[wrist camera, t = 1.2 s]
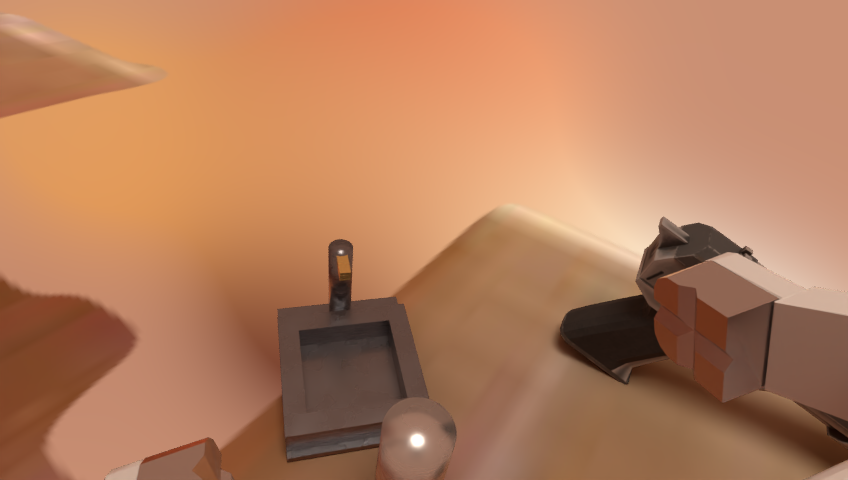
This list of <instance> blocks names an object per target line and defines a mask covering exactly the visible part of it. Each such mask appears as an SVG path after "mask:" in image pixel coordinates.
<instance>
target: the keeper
mask: <svg viewBox="0 0 848 480" xmlns="http://www.w3.org/2000/svg"><path fill="white" fill-rule="evenodd" d="M352 258H353V246H352V244H351V243H350V242H349V241H347V240H342V239H341V240H335V241H333V242H331V244H330V245H329V304H323V305H312V306H303V307H293V308H285V309H284V308H283V309H278V332H279V349H280V365H281V381H282V398H283V414H284V430H285V442H286V451H287V462H293V461H298V460H304V459H310V458H316V457H322V456H328V455H334V454H340V453H345V452H351V451H357V450H363V449H369V448H375V447H379V444H380V436H381V427H382V422H383V419H384V417H385V415H386V413H387V412H388V410H389V409H390V408H391V407H392V406H393V405H395V404H396V403H398V402H399V401H401V400H404V399H407V398H412V397H422V398H427V399H429V396H428V392H427V389H426V385H425V381H424V377H423V374H422V370H421V366H420V363H419V359H418V355H417V351H416V348H415V344H414V340H413V336H412V333H411V329H410V325H409V322H408V318H407V314H406V310H405V307H404V304H398V303H397V299H396V297H389V298H379V299H369V300H361V301H351V284H352Z"/></svg>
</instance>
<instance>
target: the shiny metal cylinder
mask: <svg viewBox="0 0 848 480" xmlns="http://www.w3.org/2000/svg"><path fill="white" fill-rule="evenodd" d="M455 442H456V426H455V423H454V421H453V418H452V417H451V415H450V414H449V412H448V411H447V410H446V409H445V408H444V407H443V406H441V405H440V404H439V403H437V402H435V401H433V400H430V399H427V398H422V397H412V398H407V399H404V400H401V401H399V402H398V403H396V404H395V405H393V406H392V407H391V408H390V409H389V410H388V412H387V413H386V415H385V417H384V419H383V422H382V427H381V436H380V444H379V452H378V460H377V468H376V476H375V480H444V478H445V474H446V471H447V468H448V465H449V462H450V458H451V455H452V452H453V449H454V446H455Z"/></svg>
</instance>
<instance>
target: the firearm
mask: <svg viewBox="0 0 848 480" xmlns="http://www.w3.org/2000/svg"><path fill="white" fill-rule="evenodd" d="M659 233H660V234H659V235H658V236H657V237H656V239H655V240H654V241H653V242H652V244H651V245H650V246H649V247H647V248H646V249H645V250H644V254H643V257H642V261H641V264H640V267H639V271H638V274H637V277H636V283H637V285H638V287H639V288H640V290H641V292H642V294H643V295H638V296H632V297H627V298H622V299H617V300H612V301H607V302H603V303H598V304H593V305H588V306H585V307H581V308H577V309H573V310H571V311H569V312H568V313H567V314H566V315H565V317H564V319H563V321H562V324H561V327H560V334H561V336H562V338H563V339H564V340H565V342H566V343H567V344H569V345H570V346H572V347H573V348H574V349H576V350H577V351H578V352H580V353H581V354H582V355H584V356H585V357H586V358H588V359H589V360H590V361H592V362H593V363H594V364H596V365H597V366H599V367H600V368H601V369H603V370H604V371H605V372H607V373H608V374H609V375H611V376H612V377H613V378H615V379H616V380H617V381H619V382H621V383H623V384H628V382H629V378H630V375H631V371H632V368H633V367H637V366H641V365H644V364H648V363H652V362H657V361H661V360H666V359H670V358H669V357H668V356H667V355H666V354H665V352H664V351H663V350H662V348H661V347H660V345H659V342H658V340H657V337H656V335H655V328H654V317H655V315H656V314H657V312H658V310H659V308H660V307H661V305H660V304H659V303H658V302H657V301H656V300H655V299H654V286H655V283H656V281H657V279H658V278H661V277H664V276H667V275H669V274H672V273H675V272H678V271H680V270H683V269H686V268H689V267H692V266H694V265H697V264H700V263H703V262H704V261H706V260H708V259H711V258H714V257H716V256H719V255H722V254H724V253H727V252H731V253H738V254H740V255H741V256H743V257H745V258H747V259H749V260H751V261H753V262H755V263H757V264H759V265H761V264H760V263H758V260H757V259H756V258H754V257H753V256H752V253H753V250H751V249H750V248H749V247H747V246H745V247H744V248H740V247H739V246H738V245H736V244H735V243H734V242H732V241H731V240H730V239H728V238H727V237H725V236H724V235H723V234H721V233H720V232H719V231H717V230H716V229H715V228H713V227H710V226H707V225H704V224H701V223H695V224H689V225H684V226H681V227H677V226H676V225H675V224H673V223H672V222H670V221H669V220H668V219H666V218H665V217H663V218H661V220H660V224H659ZM761 266H763V265H761ZM763 267H764V266H763ZM766 269H767V268H766ZM759 390H761V391H767V390H765V387H764V388H761V389H759ZM794 402H795V403H797V404H798V405H799V406H801V407H802V408H803V409H805V410H806V411H808V412H809V413H810V414H812V415H813V416H814V417H816V418H817V419H818V420H820V421H821V422H822V423H824V424H825V425H827V435H828V436H830V437H831V438H832V439H834V440H835V441H836V442H838V443H839V444H840V445H842V446H843V447H845V448H846V449H847V450H848V421H846V420H844V419H841V418H838V417H836V416H833V415H830V414H828V413H825V412H822V411H820V410H817V409H814V408H812V407H809V406H806V405H804V404H801V403H798V402H796V401H794Z"/></svg>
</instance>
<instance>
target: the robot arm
mask: <svg viewBox="0 0 848 480" xmlns="http://www.w3.org/2000/svg"><path fill="white" fill-rule="evenodd" d="M654 299H655V300H656V301H657V302H658V303H659V304H660V305H661V307H660V308H659V310H658V312H657V314H656V315H655V317H654V328H655V335H656V337H657V340H658V342H659V345H660V347H661V348H662V350H663V351H664V352H665V354H666V355H667V356H668V357H669V358H670V359H671V360H672V361H673V362H674V363H676V364H677V365H680V366H683V367H687V368H690V369H693V373H694V380H695V381H697V382H698V383H699V384H700V385H701V386H703V387H704V388H705V389H706V390H707V391H708V392H710V393H711V394H712V395H713V396H714V397H716V398H717V399H718V400H719V401H720V402H722V403H724V402H726V401H729V400H732V399H734V398H737V397H740V396H742V395H745V394H748V393H750V392H753V391H756V390H758V389H761V388H764V387H765V390H767V391H769V392H772V393H775V394H777V395H780V396H783V397H785V398H788V399H791V400H793V401H796V402H798V403H801V404H804V405H806V406H809V407H812V408H814V409H817V410H820V411H822V412H825V413H828V414H830V415H833V416H836V417H838V418H841V419H844V420H846V421H848V292H845V291H838V290H831V289H824V288H819V287H812V288H809V289H805V288H803V287H801V286H799V285H797V284H795V283H793V282H791V281H790V280H788V279H786V278H784V277H782V276H780V275H778V274H776V273H774V272H772V271H770V270H768V269H766V268H765V267H763V266H761V265H759V264H757V263H755V262H753V261H751V260H749V259H747V258H745V257H743V256H741V255H740V254H738V253H731V252H727V253H724V254H722V255H719V256H716V257H714V258H711V259H708V260H706V261H704V262H703V263H700V264H697V265H694V266H692V267H689V268H686V269H683V270H680V271H678V272H675V273H672V274H669V275H667V276H664V277H661V278H658V279H657V281H656V283H655V286H654ZM104 480H234V479H233V477H232V474H231V473H229V472H226V471H224V470H222V469H221V453H220V451H219V449H218V447H217V445H216V444H215V442H214V440H213V439H211V438H205V439H202V440H199V441H195V442H192V443H190V444H187V445H183V446H180V447H177V448H174V449H171V450H168V451H165V452H162V453H159V454H156V455H153V456H150V457H147V458H145V459H144V460H139V461H136V462H133V463H131V464H128V465H124V466H122V467H119V468H116V469H113V470H111V471H110V472H109V473H108V474H107V476H106V477H105V479H104ZM804 480H848V460H846V461H844V462H841V463H839V464H837V465H835V466H832V467H830V468H828V469H826V470H824V471H821V472H819V473H817V474H815V475H813V476H810V477H808V478H806V479H804Z"/></svg>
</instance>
